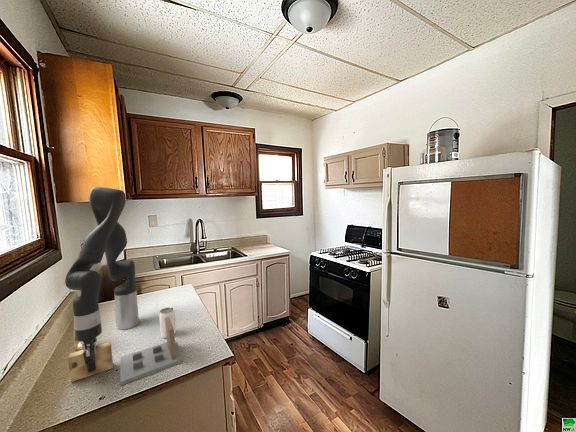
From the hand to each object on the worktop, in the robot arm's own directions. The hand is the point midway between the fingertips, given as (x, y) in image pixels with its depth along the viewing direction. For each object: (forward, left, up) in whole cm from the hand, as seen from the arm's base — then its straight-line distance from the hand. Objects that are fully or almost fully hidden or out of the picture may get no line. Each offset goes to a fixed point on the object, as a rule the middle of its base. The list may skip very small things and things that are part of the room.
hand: (92, 368), depth 90 cm
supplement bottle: (-10, +4, -2) cm, 11 cm away
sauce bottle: (-19, +8, -2) cm, 21 cm away
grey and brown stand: (+15, +11, -2) cm, 19 cm away
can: (+7, +28, -2) cm, 29 cm away
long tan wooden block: (0, 0, -2) cm, 2 cm away
